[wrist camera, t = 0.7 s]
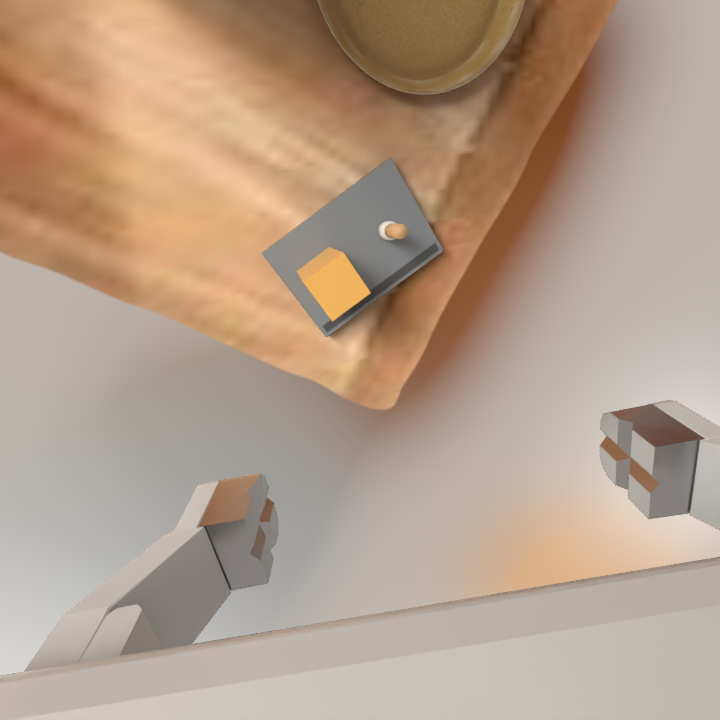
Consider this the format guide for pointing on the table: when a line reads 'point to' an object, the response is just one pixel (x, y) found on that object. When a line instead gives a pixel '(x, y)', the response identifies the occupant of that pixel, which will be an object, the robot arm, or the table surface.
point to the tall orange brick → (333, 282)
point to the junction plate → (359, 241)
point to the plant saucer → (422, 39)
